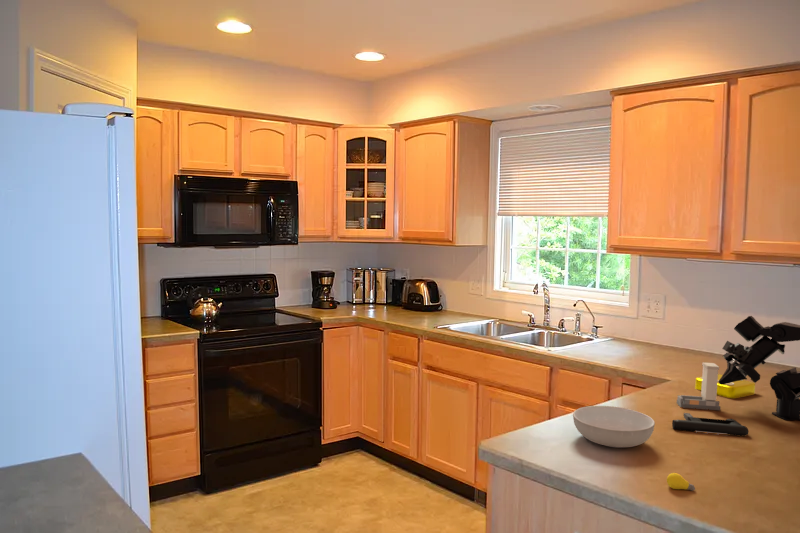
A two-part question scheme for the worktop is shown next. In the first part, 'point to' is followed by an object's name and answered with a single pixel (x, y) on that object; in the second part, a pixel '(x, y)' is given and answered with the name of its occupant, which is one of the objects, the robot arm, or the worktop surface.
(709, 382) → the tall lidded box
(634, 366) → the worktop surface
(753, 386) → the element tile
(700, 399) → the switch base
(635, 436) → the serving bowl
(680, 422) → the door handle
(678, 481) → the light bulb
